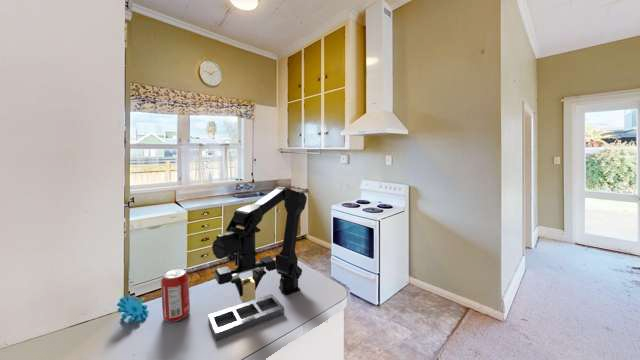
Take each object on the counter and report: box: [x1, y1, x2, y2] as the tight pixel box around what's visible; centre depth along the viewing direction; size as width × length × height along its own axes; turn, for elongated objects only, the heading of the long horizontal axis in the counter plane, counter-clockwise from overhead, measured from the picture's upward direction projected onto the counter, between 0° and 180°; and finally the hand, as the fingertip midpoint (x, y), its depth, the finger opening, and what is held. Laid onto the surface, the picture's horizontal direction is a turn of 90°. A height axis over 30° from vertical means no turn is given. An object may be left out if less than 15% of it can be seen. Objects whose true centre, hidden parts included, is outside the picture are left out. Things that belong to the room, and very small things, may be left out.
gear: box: [116, 295, 149, 323], centre depth 83 cm, size 11×6×10 cm
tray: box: [208, 293, 285, 342], centre depth 84 cm, size 22×10×2 cm, turn 125°
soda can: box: [160, 268, 191, 322], centre depth 84 cm, size 8×8×15 cm
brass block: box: [238, 276, 256, 304], centre depth 83 cm, size 4×4×6 cm
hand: (247, 293), depth 83 cm, fingers closed on brass block, 4 cm apart
